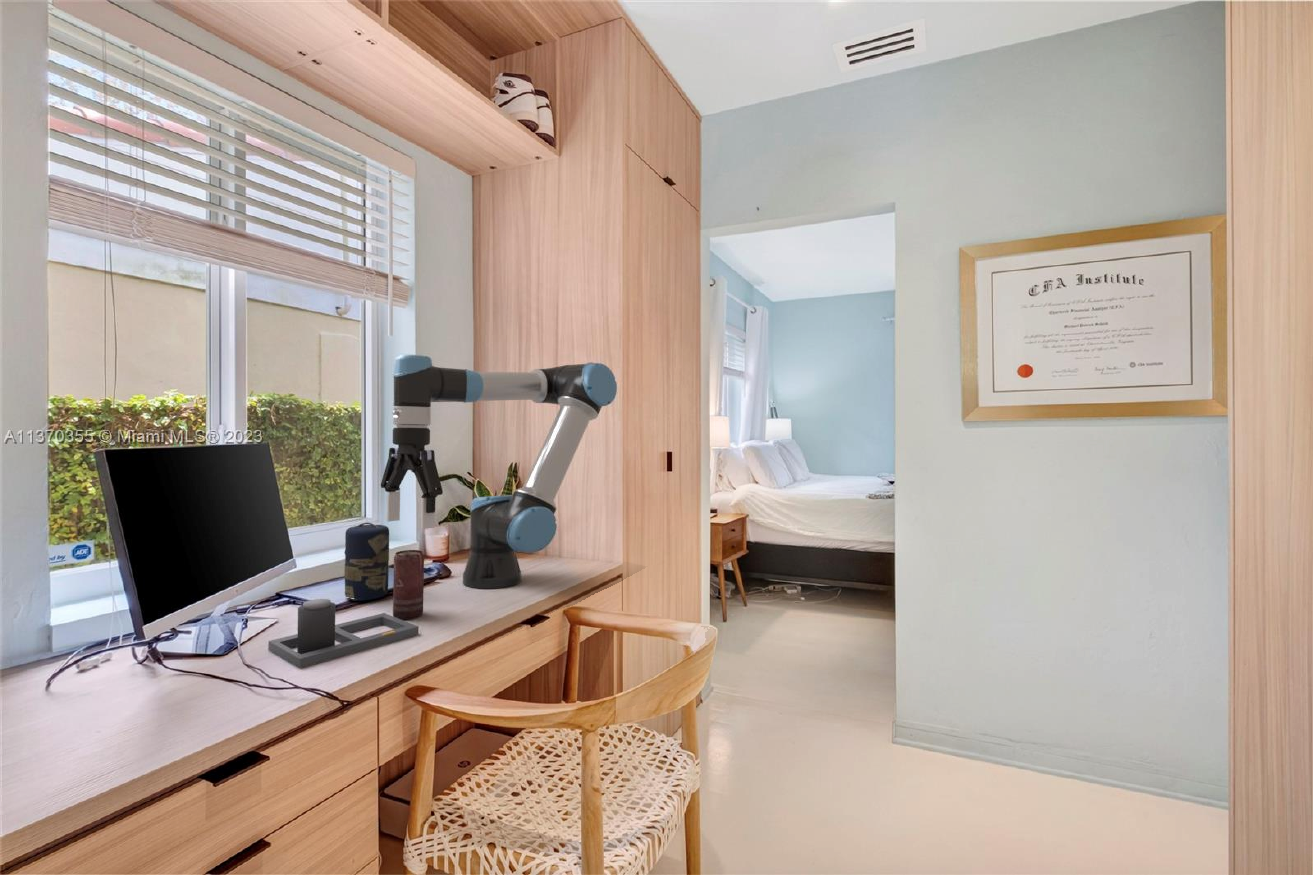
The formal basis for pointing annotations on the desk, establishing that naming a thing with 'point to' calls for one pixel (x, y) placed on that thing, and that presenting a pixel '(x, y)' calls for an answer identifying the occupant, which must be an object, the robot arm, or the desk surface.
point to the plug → (316, 625)
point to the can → (408, 584)
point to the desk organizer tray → (345, 640)
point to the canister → (366, 561)
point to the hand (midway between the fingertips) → (409, 524)
